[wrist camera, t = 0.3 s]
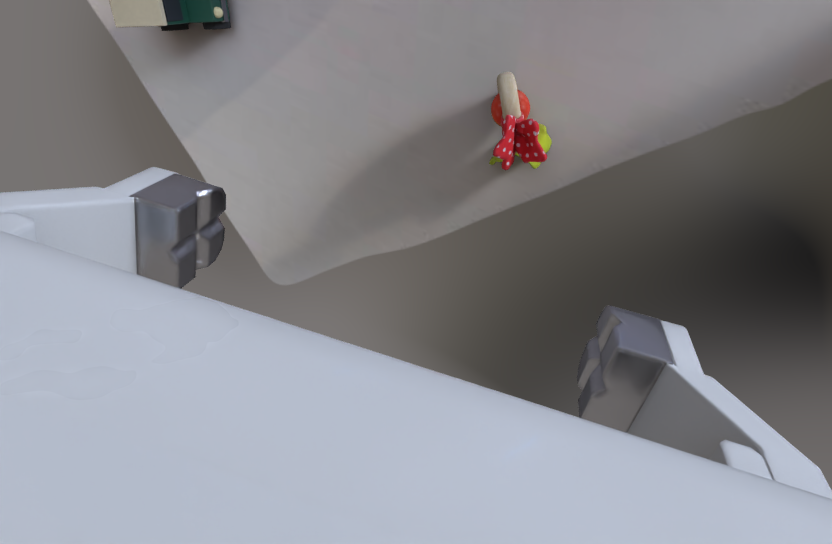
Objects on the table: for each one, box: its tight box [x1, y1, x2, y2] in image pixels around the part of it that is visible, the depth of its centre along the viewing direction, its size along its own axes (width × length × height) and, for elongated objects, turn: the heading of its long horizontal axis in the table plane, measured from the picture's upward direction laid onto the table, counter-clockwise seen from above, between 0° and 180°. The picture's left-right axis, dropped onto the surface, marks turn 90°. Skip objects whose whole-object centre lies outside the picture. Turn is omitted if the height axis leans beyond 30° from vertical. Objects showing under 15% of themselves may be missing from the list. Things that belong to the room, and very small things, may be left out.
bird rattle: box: [489, 72, 551, 170], centre depth 51 cm, size 6×11×9 cm
